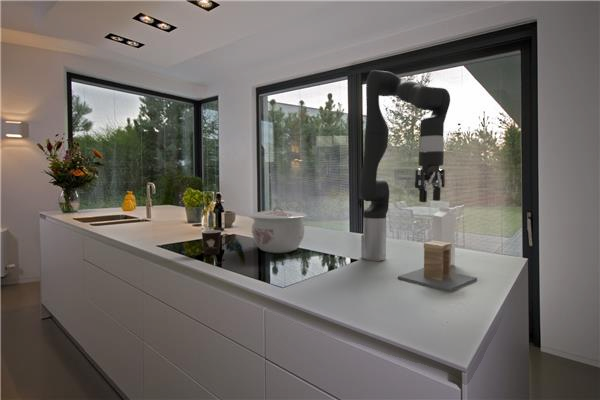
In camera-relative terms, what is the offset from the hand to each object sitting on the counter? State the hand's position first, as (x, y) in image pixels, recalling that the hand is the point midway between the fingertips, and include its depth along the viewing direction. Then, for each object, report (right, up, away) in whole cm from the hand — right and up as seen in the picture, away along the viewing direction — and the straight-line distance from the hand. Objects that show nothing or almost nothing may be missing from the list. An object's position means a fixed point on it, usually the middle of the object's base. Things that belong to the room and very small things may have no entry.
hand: (429, 201), depth 113 cm
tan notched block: (+3, -25, +2) cm, 25 cm away
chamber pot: (-52, -23, +50) cm, 76 cm away
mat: (+3, -26, +2) cm, 26 cm away
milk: (+14, -25, +23) cm, 36 cm away
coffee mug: (-80, -24, +43) cm, 94 cm away
